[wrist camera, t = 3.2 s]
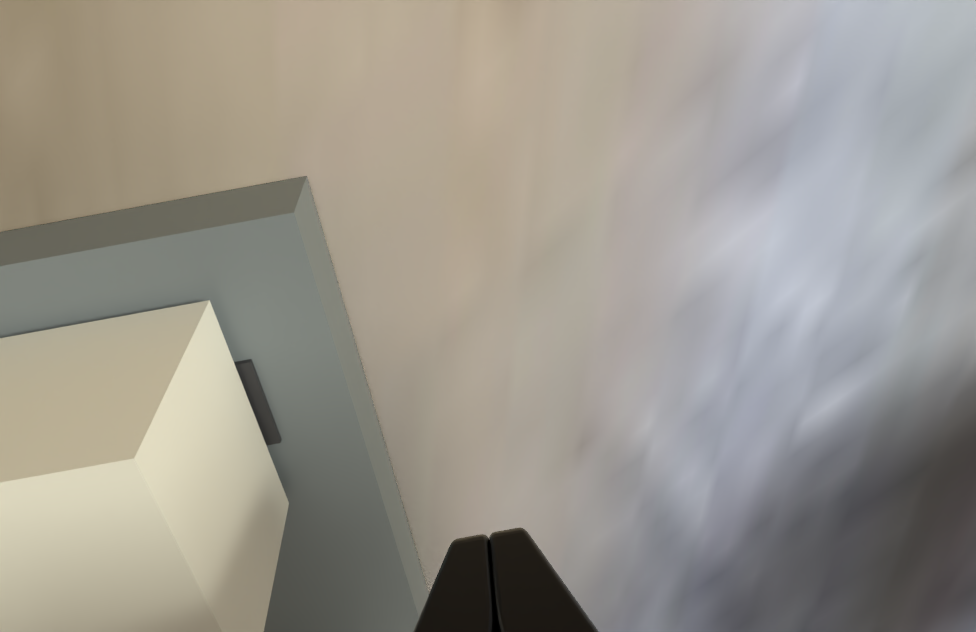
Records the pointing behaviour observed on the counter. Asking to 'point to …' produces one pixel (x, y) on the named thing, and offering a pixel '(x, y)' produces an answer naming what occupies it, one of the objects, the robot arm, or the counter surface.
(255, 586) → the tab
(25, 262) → the switch bank
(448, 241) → the counter surface
